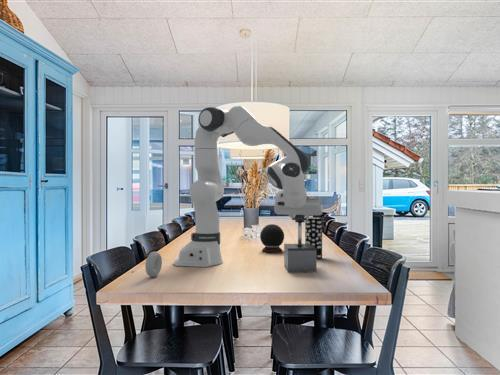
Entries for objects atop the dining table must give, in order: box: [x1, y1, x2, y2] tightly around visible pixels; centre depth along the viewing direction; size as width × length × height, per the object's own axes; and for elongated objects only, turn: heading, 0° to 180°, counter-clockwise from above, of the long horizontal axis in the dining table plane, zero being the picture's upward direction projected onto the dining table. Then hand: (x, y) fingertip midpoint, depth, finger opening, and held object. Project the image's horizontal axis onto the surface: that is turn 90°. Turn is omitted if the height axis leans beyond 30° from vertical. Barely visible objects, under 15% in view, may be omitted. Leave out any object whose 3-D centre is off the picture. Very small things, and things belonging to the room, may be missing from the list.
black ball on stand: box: [259, 223, 285, 254], centre depth 203 cm, size 13×13×15 cm
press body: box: [283, 243, 318, 273], centre depth 160 cm, size 12×12×10 cm
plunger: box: [294, 215, 305, 247], centre depth 160 cm, size 8×8×17 cm
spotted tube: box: [304, 216, 323, 261], centre depth 184 cm, size 8×8×20 cm
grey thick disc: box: [144, 251, 163, 278], centre depth 146 cm, size 10×3×10 cm, turn 168°
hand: (300, 219), depth 160 cm, fingers closed on plunger, 4 cm apart
